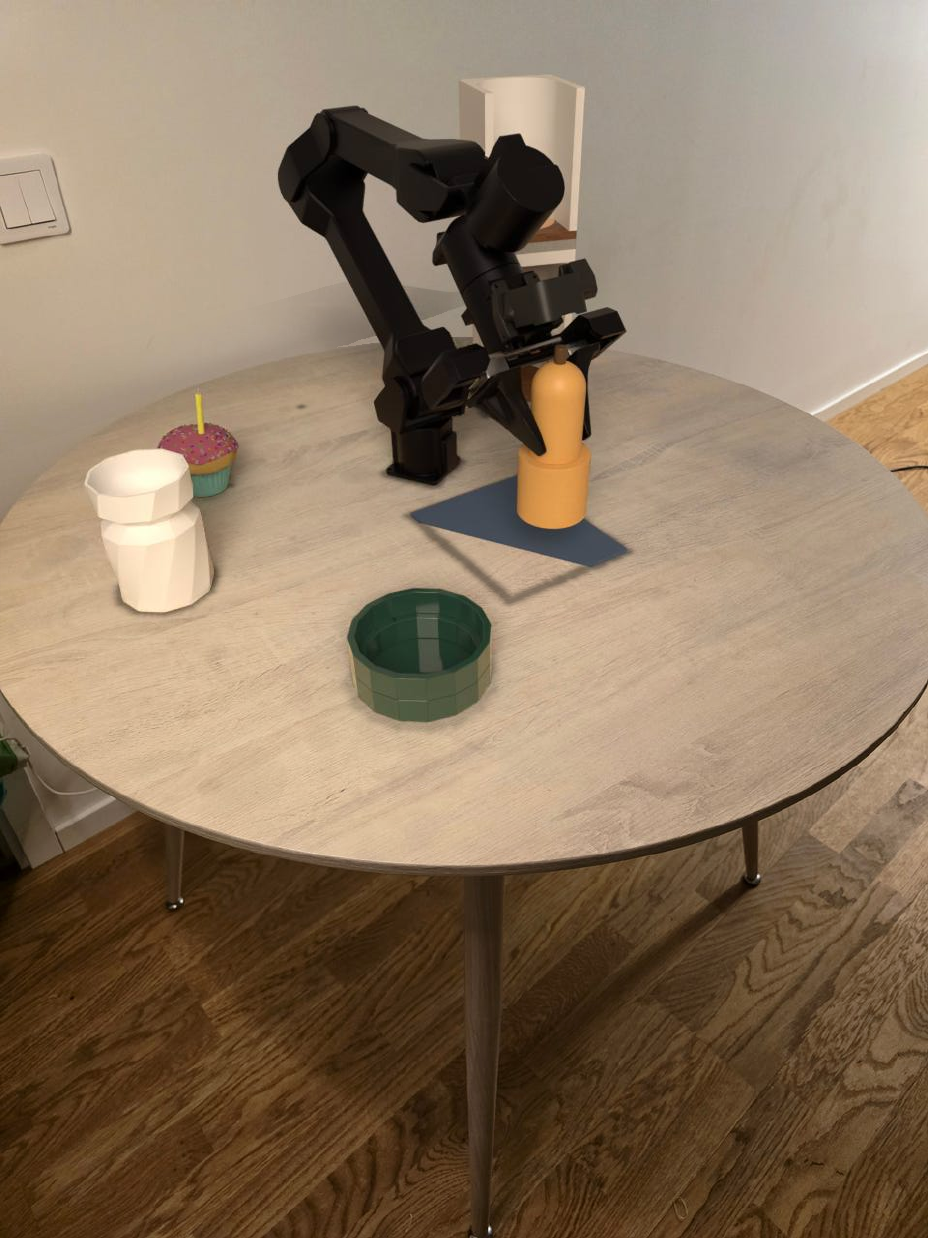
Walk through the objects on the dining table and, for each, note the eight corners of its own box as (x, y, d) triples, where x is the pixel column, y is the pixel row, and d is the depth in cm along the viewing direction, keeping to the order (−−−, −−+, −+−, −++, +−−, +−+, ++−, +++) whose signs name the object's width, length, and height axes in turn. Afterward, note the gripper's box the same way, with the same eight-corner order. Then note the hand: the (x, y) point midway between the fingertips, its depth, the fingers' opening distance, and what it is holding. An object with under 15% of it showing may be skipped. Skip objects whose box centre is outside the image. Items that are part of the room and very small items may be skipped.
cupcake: (258, 474, 98) (239, 373, 90) (218, 512, 92) (194, 406, 84) (193, 464, 100) (169, 364, 93) (150, 500, 94) (120, 396, 87)
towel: (410, 515, 90) (410, 512, 90) (518, 477, 96) (518, 474, 96) (510, 601, 79) (510, 598, 78) (627, 552, 84) (627, 548, 84)
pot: (327, 699, 69) (319, 652, 66) (398, 620, 77) (394, 575, 74) (451, 744, 65) (449, 696, 62) (513, 656, 73) (514, 609, 70)
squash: (522, 531, 78) (527, 364, 68) (512, 494, 82) (516, 333, 73) (592, 526, 78) (608, 359, 68) (578, 490, 83) (591, 330, 73)
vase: (130, 624, 77) (91, 508, 70) (113, 574, 83) (76, 462, 76) (226, 595, 80) (199, 481, 73) (203, 549, 86) (176, 440, 79)
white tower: (465, 380, 117) (458, 79, 96) (539, 371, 119) (550, 73, 97) (486, 415, 109) (485, 93, 87) (566, 405, 111) (584, 87, 89)
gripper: (434, 248, 64) (520, 441, 63) (623, 208, 72) (700, 379, 72) (387, 323, 74) (462, 490, 74) (558, 280, 82) (625, 430, 82)
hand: (565, 446), depth 75 cm, fingers closed on squash, 4 cm apart
